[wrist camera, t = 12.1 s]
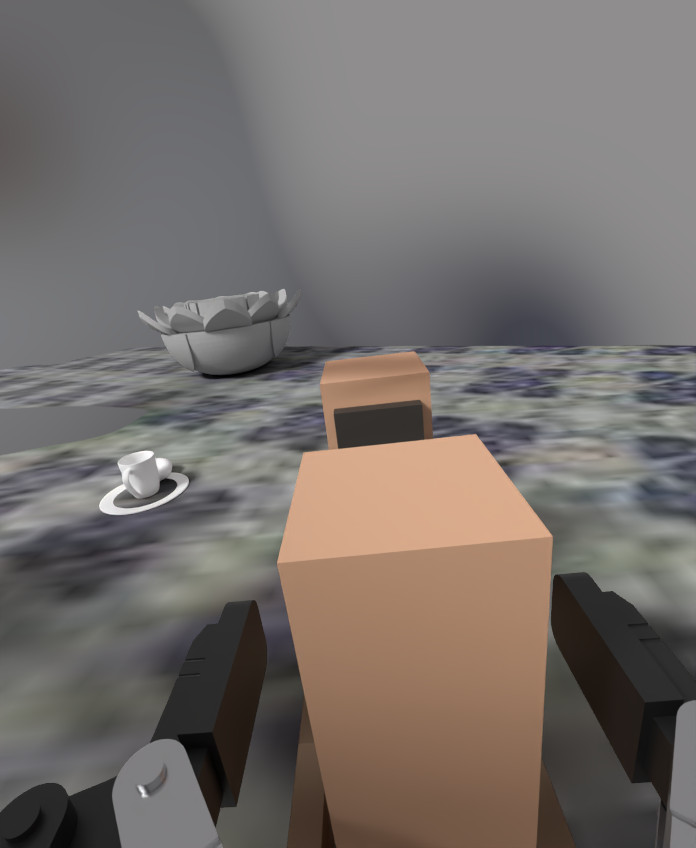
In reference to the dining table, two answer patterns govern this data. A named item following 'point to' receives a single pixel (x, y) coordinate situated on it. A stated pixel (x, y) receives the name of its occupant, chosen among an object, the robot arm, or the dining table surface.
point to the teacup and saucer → (143, 481)
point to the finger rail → (364, 426)
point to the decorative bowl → (225, 331)
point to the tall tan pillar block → (420, 642)
